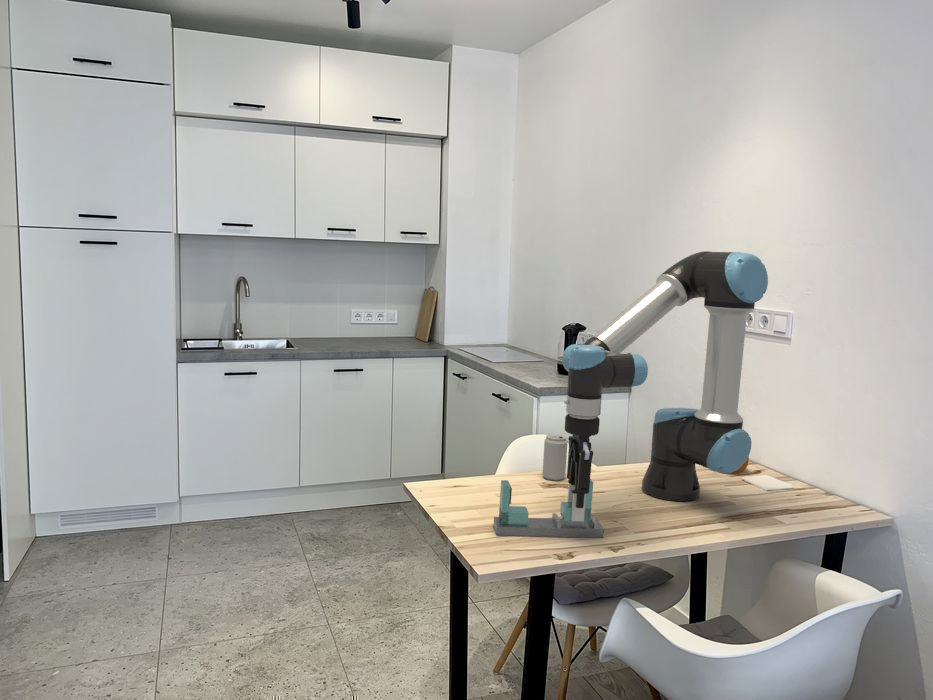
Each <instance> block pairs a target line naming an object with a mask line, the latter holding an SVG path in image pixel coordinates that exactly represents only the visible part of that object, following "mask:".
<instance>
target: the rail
mask: <svg viewBox="0 0 933 700" xmlns="http://www.w3.org/2000/svg"><path fill="white" fill-rule="evenodd" d="M512 489H513V488H512V486H511V484H510V482H509V480H508V479H507V480H500V493H499V507H498V511H499V512H498V516H494V517H493V525H492V526H493V528H494V533H495V535H496V536H497V537H500V536H502V537H505V536H506V537H541V538H542V537H545V538H546V537H549V538H588V539H589V538H595V539H604V535H605V528H604V527H603V526H602V524H601V522H600V521H599V519H596V518H595V517H594V516H593V514H592V513H591V519H590V522H587V521H564V520H563V519H562V518H559V516H558V515H557V513H555V512H554V513H553V512H552V515H551V516H552V517H551V518H549V517H547V518H546V517H529V511H528V507H527V506H520V505H519V506H518V505H517V506H516V505H513V506H512V505H511V504H512V491H513V490H512Z"/></svg>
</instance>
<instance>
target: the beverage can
mask: <svg viewBox="0 0 933 700" xmlns="http://www.w3.org/2000/svg"><path fill="white" fill-rule="evenodd" d="M568 444H569V441H568V440H567V436H565V435H563V434H555V433H553V434H552V433H551V434H547V435H546V436H545V439H544V445H543V460H542V461H543V463H542V476H543V477H544V479H546V480H549V481H554V482H555V481H556V482H557V481H562V480H563V479H564V478H566V474H567V472H566V471H567V459H568Z"/></svg>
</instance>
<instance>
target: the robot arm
mask: <svg viewBox="0 0 933 700" xmlns="http://www.w3.org/2000/svg"><path fill="white" fill-rule="evenodd" d="M768 285H769V275H768V271H767V268H766V265H765V264H764V263H763V262H762V260H761V258H759V257H758V256H757V255H755V254H753V253H748V252H741V251H734V252H733V251H709V250H708V251H705V250H704V251H699V252H695V253H692V254H690V255H688V256H686V257H684V258H682V259H681V260H679V261H677V262H676V263H674V264H673V265H671V266H670V267H669V268H667V269H665V271H663V272H662V273H661V274H659V275H658V277H657V278H656V282H655V284H654V285H653V286H652V287H650V288H649V289H648V290H646V292H644V293H643V294H642V295H641V296H640V297H638V298H637V299H636V300H634V301H633V302H632V303H631V304H630V305H629V306H628V307H626V308H625V309H624V310H623V311H621V312H620V313H619V314H618V315H617V316H615V317H614V318H613V319H612V320H611V321H609V322H608V323H607V324H606V325H605V326H603V327H602V328H601V329H600V330H598V331H597V332H596V333H595V334H594V335H592V336H591V337H590V338H589V339H588V340H586V341H585V342H584V343H582V344H581V343H578V344H577V343H574V344H570V345H569V346H567V347H566V348H565V350H564V351H563V353H562V358H561V362H562V366H563V368H564V370H566V372H568V375H567V390H566V391H567V392H566V398H567V399H564V400H563V401H564V402H563V403H564V405H565V412H566V415H565V418H564V431H565V432H566V433H568V434H570V435H571V436H568V440H567V441H568V451H567V467H566V471H567V472H566V479H567V482H568V484H569V485H568V490H567V493H568V494H567V502H572V515H571V521H584V513H585V500H586V494H589V486H590V479H591V473H592V464H593V463H592V461H593V456H594V451H593V450H592V443H591V442H590V438H591V437H593V436H596V435H598V434H599V432H600V418H599V416H601V411H602V395H603V389H611V388H614V389H615V388H632V387H638V386H641V385H642V384H644V383H645V381H646V380H647V378H648V373H649V371H648V370H649V366H648V362H647V360H646V359H645V358H644V356H642V355H641V354H639V353H631V352H628V353H622V352H623V351H625V350H626V349H627V348H628V347H629V346H631V345H632V344H633V343H634V342H636V341H637V339H639V338H640V337H642V335H644V334H645V333H646V332H647V331H649V330H650V329H651V328H652V327H653V326H654V325H655V324H657V323H658V322H659V321H660V320H661V319H662V318H664V317H665V316H666V315H667V314H668V313H670V311H672V310H673V309H674V308H675V307H682V306H684V305H685V304H686V303H688V302H689V301H690V300H694V299H697V298H698V299H699V298H704V301H703V307H704V309H706V310H707V312H708V313H709V317H708V318H709V320H708V331H707V338H706V339H707V341H706V349H705V350H706V354H705V363H704V373H703V385H702V396H701V407H700V408H699V409H696V408H692V407H691V408H688V407H665V408H664V407H663V408H659V409H658V410H656V412H655V414H654V418H653V423H652V436H651V437H652V438H651V450H650V451H651V454H650V462H649V465H648V467H647V469H646V471H645V474H644V476H643V478H642V481H641V491H642V492H644V493H645V494H646V495H649V496H651V497H654V498H656V499H661V500H666V501H671V502H672V501H673V502H690V501H692V502H693V501H695V500H697V499H699V498H700V493H701V487H700V483H699V477H698V474H697V470H696V465H698V466H701V467H704V468H707V469H708V470H710V471H713V472H719V473H721V474H732V473H731V472H734V471H736V470H738V469H739V468H740V467H741V466H742V465H743V464H744V463H745V461H746V460H747V458H748V456H750V453H751V451H752V438H751V436H750V434H749V433H748V432H747V431H746V430H745V429H743V425H744V418H743V417H742V416H741V414H740V413H739V399H740V387H741V378H742V370H743V367H742V366H743V358H744V351H745V350H744V347H745V340H746V337H745V336H746V329H747V319H748V315H749V314H751V313H752V312H753V311H754V310H755V304H756V303H757V302H759V301H760V300H762V298H763V297H764V294H766V293H767V290H768Z"/></svg>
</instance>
